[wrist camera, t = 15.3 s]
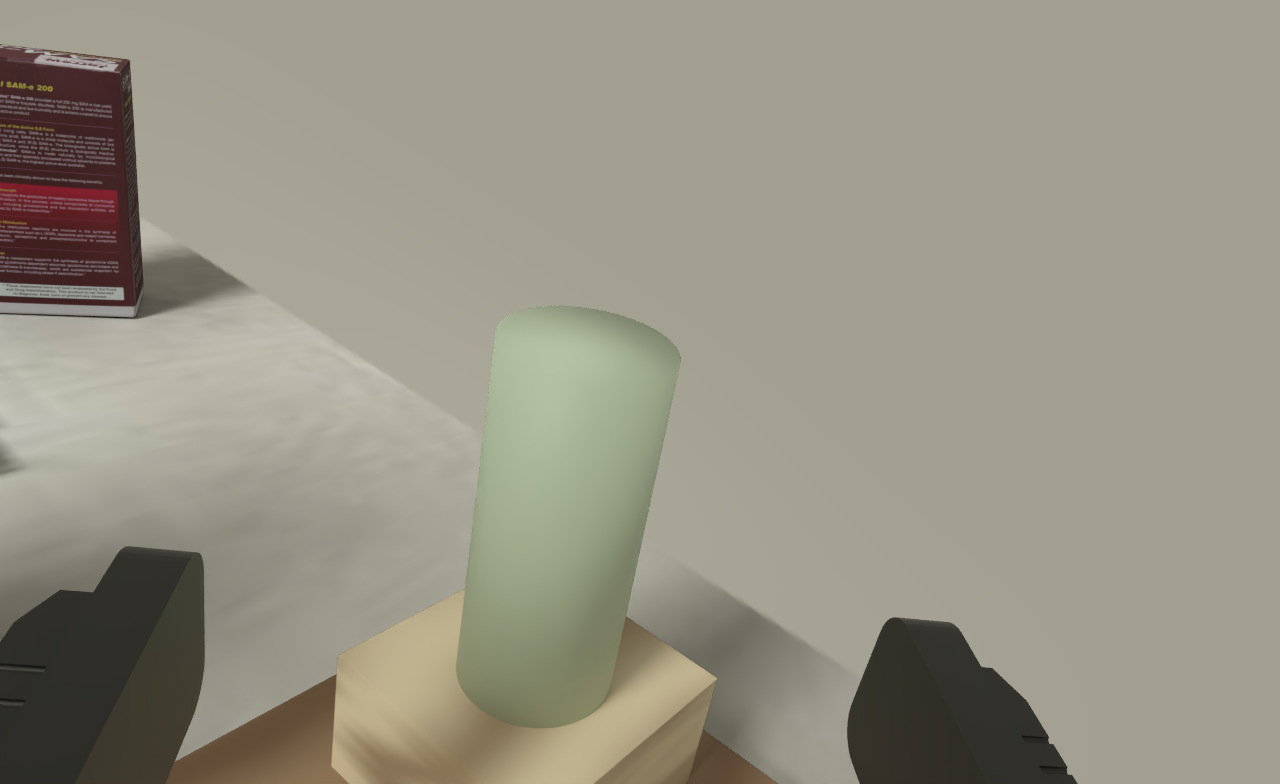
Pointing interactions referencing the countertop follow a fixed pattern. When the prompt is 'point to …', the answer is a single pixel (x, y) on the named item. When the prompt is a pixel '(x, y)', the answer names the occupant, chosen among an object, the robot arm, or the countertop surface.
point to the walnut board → (303, 738)
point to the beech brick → (501, 752)
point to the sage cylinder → (560, 509)
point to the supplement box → (68, 185)
